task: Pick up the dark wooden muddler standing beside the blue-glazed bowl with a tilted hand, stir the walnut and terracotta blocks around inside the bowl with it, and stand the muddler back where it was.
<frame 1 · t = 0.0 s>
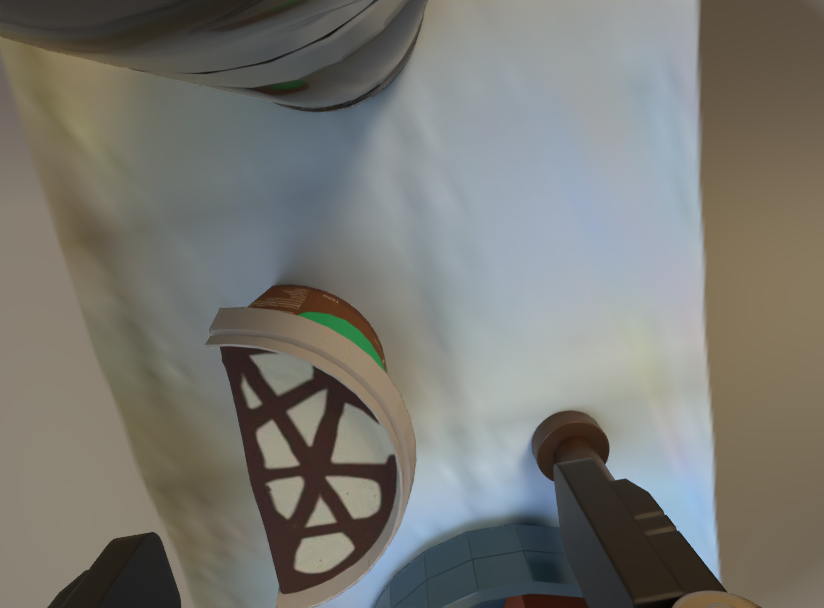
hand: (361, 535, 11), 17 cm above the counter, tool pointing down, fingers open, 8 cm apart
food container: (349, 362, 28), on the counter
muddler: (566, 441, 30), on the counter
block b: (538, 600, 33), point 1 cm above the counter, touching bowl
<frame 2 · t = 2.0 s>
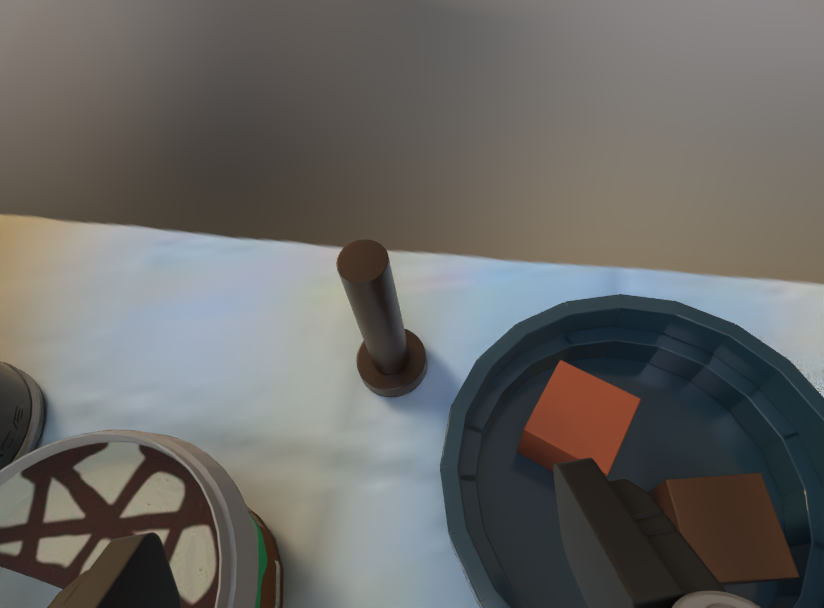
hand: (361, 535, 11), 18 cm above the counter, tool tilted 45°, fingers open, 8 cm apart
bowl: (619, 495, 27), on the counter
food container: (217, 537, 28), on the counter
muddler: (393, 365, 32), on the counter
block a: (694, 538, 25), point 1 cm above the counter, touching bowl
block b: (568, 438, 28), point 1 cm above the counter, touching bowl
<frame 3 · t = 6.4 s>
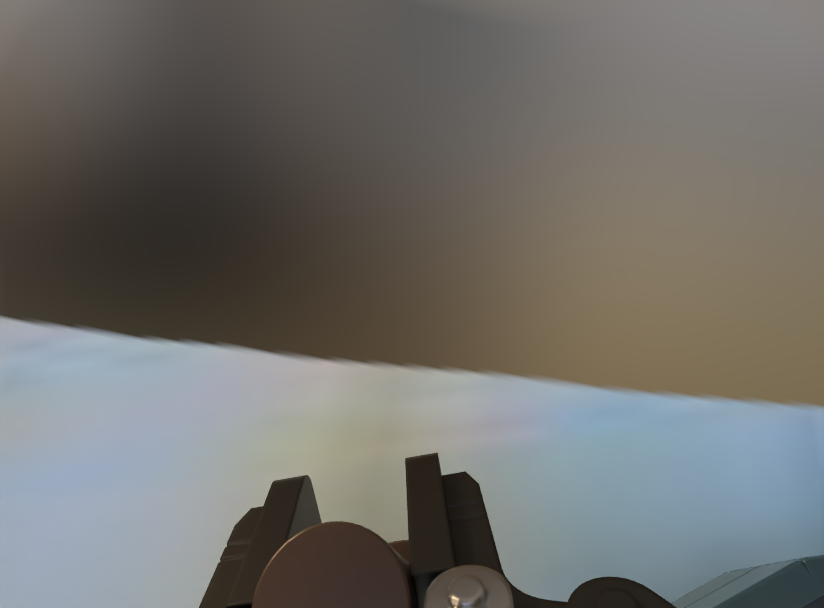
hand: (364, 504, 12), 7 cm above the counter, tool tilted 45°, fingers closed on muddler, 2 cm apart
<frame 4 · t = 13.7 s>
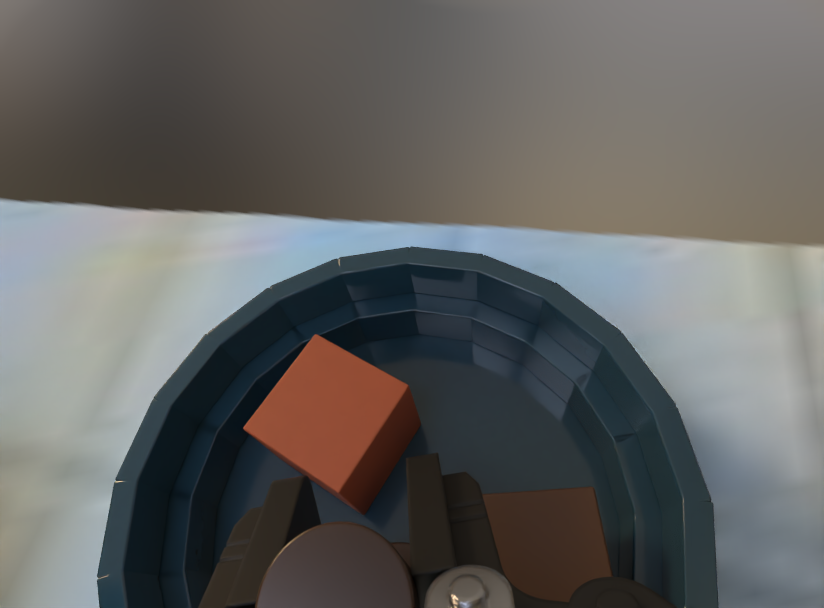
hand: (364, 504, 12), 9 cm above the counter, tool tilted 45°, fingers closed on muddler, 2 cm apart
bowl: (411, 518, 20), on the counter
block a: (526, 577, 18), point 1 cm above the counter, touching bowl, muddler
block b: (351, 441, 21), point 1 cm above the counter, touching bowl
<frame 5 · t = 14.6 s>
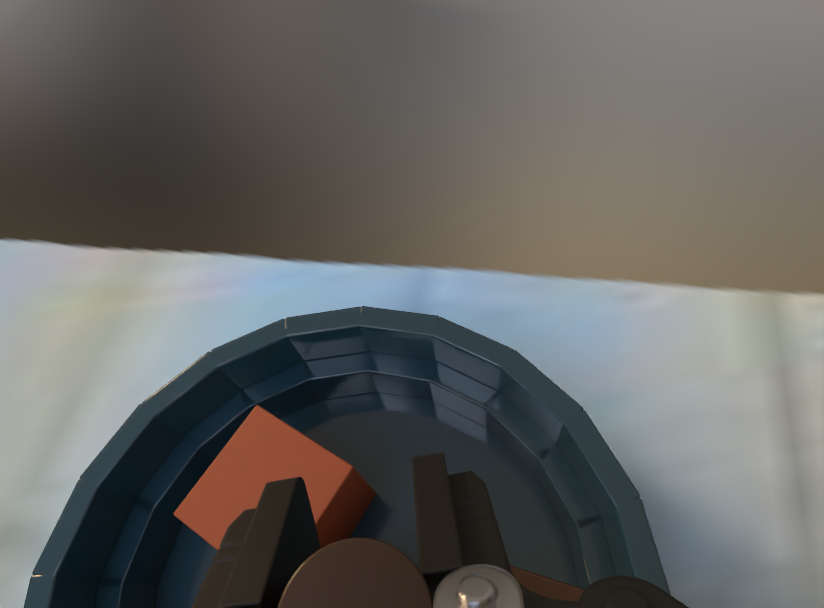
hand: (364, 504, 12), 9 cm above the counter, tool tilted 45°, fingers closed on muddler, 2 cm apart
bowl: (364, 599, 19), on the counter
block b: (302, 513, 20), point 1 cm above the counter, touching bowl
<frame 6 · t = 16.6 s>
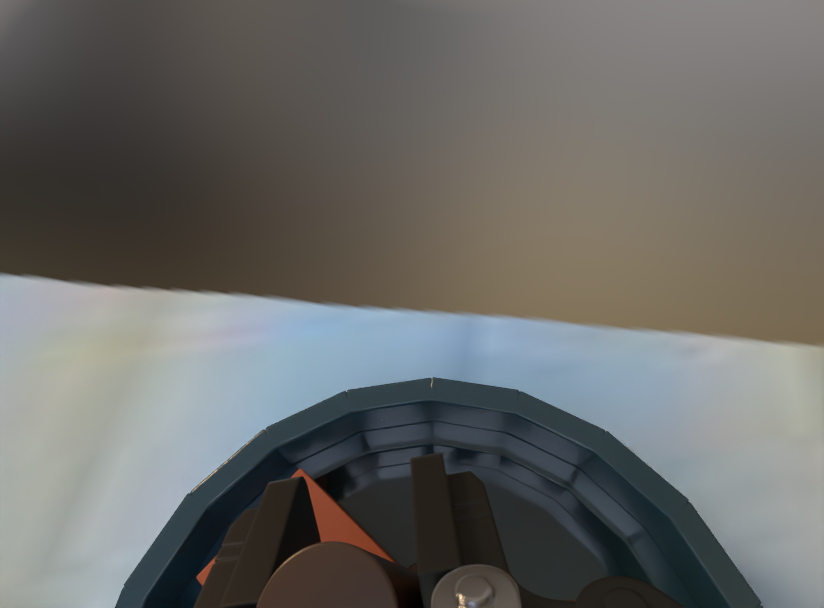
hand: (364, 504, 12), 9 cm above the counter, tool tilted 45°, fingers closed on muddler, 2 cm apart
block b: (325, 577, 18), point 1 cm above the counter, touching bowl, muddler
when the fingers open (7 cm above the counter, at t = 26.7 s): muddler stays where it is, on the counter.
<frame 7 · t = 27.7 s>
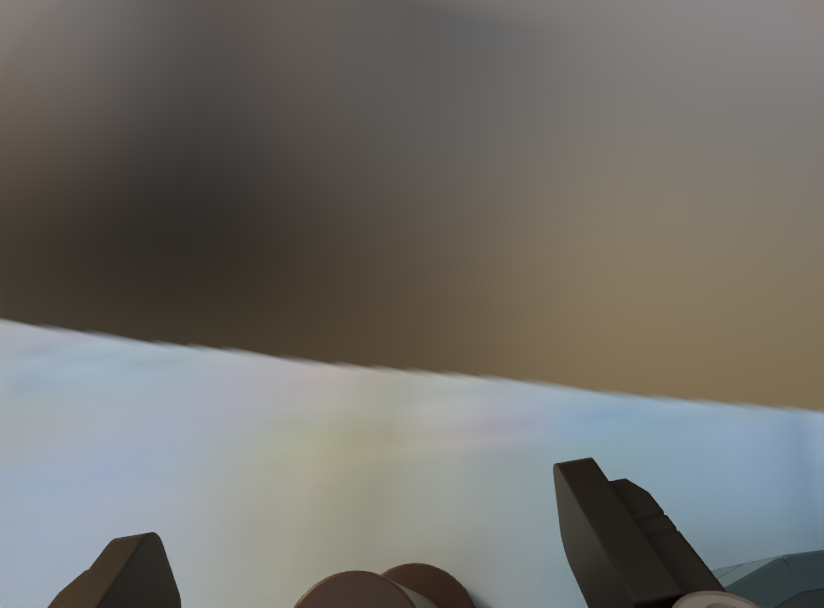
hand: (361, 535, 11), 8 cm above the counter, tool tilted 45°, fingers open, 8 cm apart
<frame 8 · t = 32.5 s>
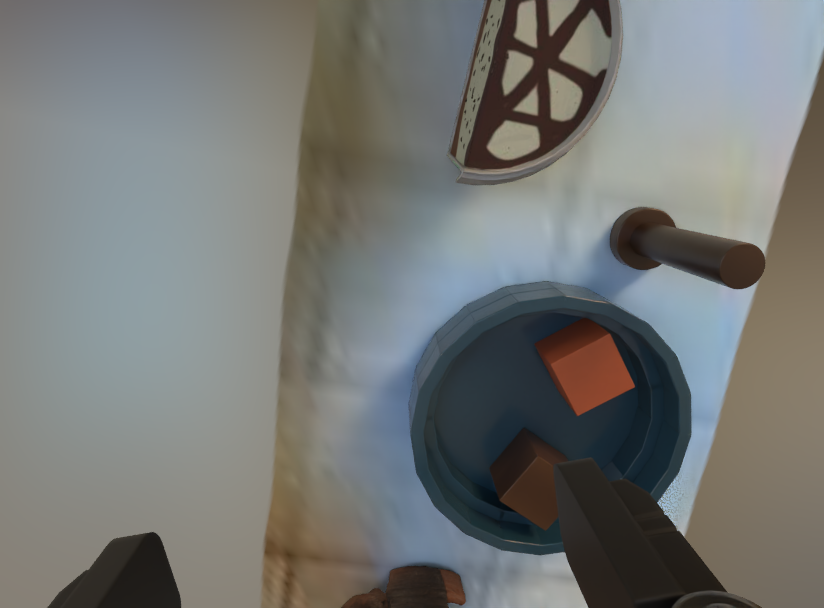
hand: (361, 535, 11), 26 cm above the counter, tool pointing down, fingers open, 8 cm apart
bowl: (532, 400, 39), on the counter
food container: (512, 91, 34), on the counter
muddler: (639, 237, 36), on the counter
block a: (527, 461, 39), point 1 cm above the counter, touching bowl
block b: (572, 353, 37), point 1 cm above the counter, touching bowl
pottery mug: (405, 606, 43), on the counter
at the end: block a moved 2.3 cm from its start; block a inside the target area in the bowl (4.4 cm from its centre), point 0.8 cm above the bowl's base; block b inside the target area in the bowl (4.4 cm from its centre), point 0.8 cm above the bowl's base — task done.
